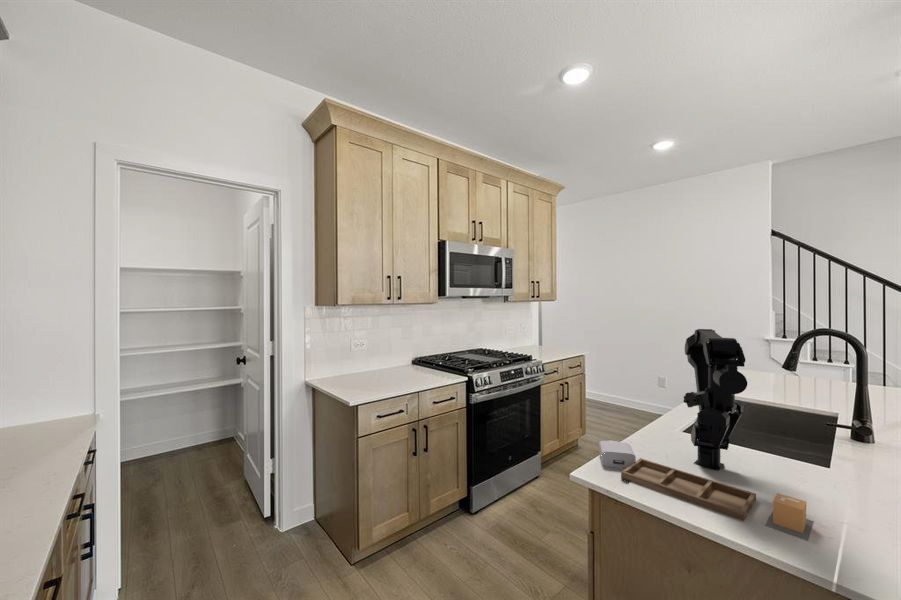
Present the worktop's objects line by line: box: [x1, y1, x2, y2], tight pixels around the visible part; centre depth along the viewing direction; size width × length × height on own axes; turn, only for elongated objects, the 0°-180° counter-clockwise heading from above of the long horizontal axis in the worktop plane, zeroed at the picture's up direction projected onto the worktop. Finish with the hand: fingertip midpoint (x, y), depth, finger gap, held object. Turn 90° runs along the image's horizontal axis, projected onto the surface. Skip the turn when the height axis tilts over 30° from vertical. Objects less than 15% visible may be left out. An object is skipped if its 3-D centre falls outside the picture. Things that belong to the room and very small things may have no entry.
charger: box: [598, 439, 637, 469], centre depth 122 cm, size 5×9×15 cm
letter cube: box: [772, 492, 807, 533], centre depth 86 cm, size 5×5×5 cm
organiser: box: [620, 458, 757, 522], centre depth 101 cm, size 13×28×2 cm, turn 41°
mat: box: [764, 510, 815, 542], centre depth 86 cm, size 10×7×1 cm
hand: (721, 442), depth 103 cm, fingers open, 9 cm apart
